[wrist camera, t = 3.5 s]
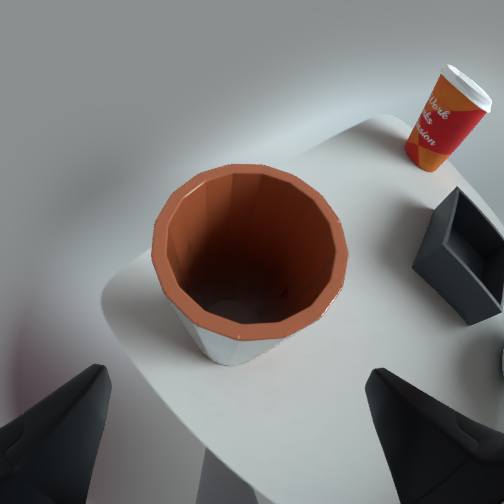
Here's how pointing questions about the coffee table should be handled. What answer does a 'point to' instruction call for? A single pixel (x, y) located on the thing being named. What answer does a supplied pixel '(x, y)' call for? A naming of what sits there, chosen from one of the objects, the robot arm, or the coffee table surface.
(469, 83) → the coffee cup
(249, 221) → the tumbler
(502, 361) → the ornament
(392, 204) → the coffee table surface
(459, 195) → the tub
